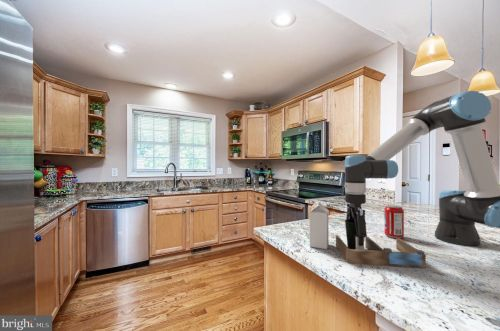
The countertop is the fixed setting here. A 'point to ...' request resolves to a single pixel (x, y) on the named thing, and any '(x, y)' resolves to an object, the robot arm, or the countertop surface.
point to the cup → (351, 233)
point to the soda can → (394, 221)
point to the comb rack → (383, 254)
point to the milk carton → (319, 227)
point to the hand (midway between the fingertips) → (355, 248)
